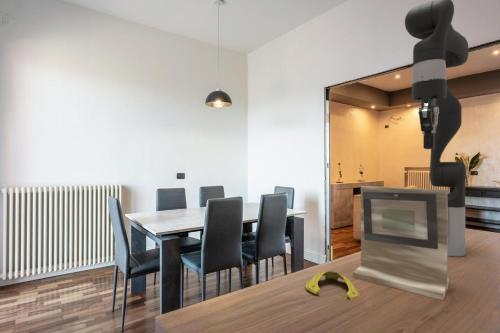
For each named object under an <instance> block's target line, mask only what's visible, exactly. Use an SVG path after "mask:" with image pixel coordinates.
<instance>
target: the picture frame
mask: <svg viewBox="0 0 500 333" xmlns="http://www.w3.org/2000/svg"><path fill="white" fill-rule="evenodd" d="M363 210H364V237H365V240H371V241H378V242H386V243H393V244H401V245H408V246H416V247H423V248H431V249H438V229H437V203H436V193H401V192H363Z"/></svg>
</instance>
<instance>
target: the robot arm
mask: <svg viewBox="0 0 500 333" xmlns="http://www.w3.org/2000/svg"><path fill="white" fill-rule="evenodd" d="M454 15H455V5H454V2H453V1H452V0H431V1H428V2H426V3H422V4H419V5H417V6H414V7H412V8H411V9H410V10H409V11H408V12H407V13H406V15H405V17H404V26H405V27H404V28H405V29H406V31H407V33H408V34H409V35H410V36H411V37H413V38H416V39H418V40H420V41H417V42H416V43H415V44H414V45H413V50H412V54H413V55H412V71H411V72H412V74H411V100H412V102H414V103H420V104H421V106H420V107H418V116H419V124H420V131H421V133H422V135H423V136H422V137H423V142H422V143H423V149H424V150H430V157H429V158H430V160H429V161H430V163H429V181H430V185H431V186H433V187H437V188H453V190H452V191H451V192H449V193H448V257H457V258H458V257H465V256H466V184H467V183H466V181H467V167H466V164H465V163H464V162H463V161H441V158H442V156H443V152H444V151H445V149H446V148H447V146H448V144H449V143H450V142H451V140H453V138H454V137H455V136H456V134H457V133H458V131H459V129H460V128H461V127H462V122H463V121H462V113H463V112H462V108H463V107H462V105H461V103H460V101H459V99H458V98H457V97H456V95H454V93H453V92H452V91H451V90H450V88H448V86H447V73H448V72H447V69H448V68H449V69H450V68H455V67H459V66H463V65H464V64H465V63H466V62H467V61H468V58H469V52H470V51H469V43H468V40H467V38H466V37H465V36H463V35H462V34H461V33H460V32H459V31H457V30H455V29H454V27H453V25H452V22H453V19H454Z"/></svg>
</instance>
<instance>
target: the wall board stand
mask: <svg viewBox="0 0 500 333" xmlns="http://www.w3.org/2000/svg"><path fill="white" fill-rule="evenodd" d="M363 192H401V193H436V203H437V229H438V249H431V248H423V247H416V246H408V245H401V244H393V243H386V242H378V241H371V240H365V237H364V210H363ZM448 194H449V193H448V189H437V188H436V189H435V188H434V189H433V188H417V187H415V188H413V187H412V188H411V187H393V186H391V187H390V186H388V187H387V186H369V185H368V186H367V185H361V186H360V265H359V267H357V268H356V269H355V270H354V271H352V278H354V279H357V280H358V279H359V280H362V281H365V282H366V281H367V282H370V283H374V284H378V285H381V286H385V287H389V288H393V289H397V290H400V291H401V290H402V291H405V292H409V293H414V294H418V295H422V296H425V297H429V298H432V299H436V300H440V301H444V300H445V297H446V294H447V291H448V288H449V285H450V278H448V276H449V275H448V274H449V272H448V270H449V269H448V267H449V266H448V264H449V263H448V257H449V256H448Z"/></svg>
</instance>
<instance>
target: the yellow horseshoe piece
mask: <svg viewBox="0 0 500 333" xmlns="http://www.w3.org/2000/svg"><path fill="white" fill-rule="evenodd" d="M323 276H324V277H325V279H327V280H328V279H329V280H331V279H332V280H338V279H340V280H343V281H344V282H345V283H346V285H347V287H348V291H347V292H346V295H347V297H345V298H344V300H347V299H348V298H349V300H350V301H352V300H353V299H357V298H360V292H359V290H358V289H357V287H356V286H355V285H354V284H353V283H352V281H350V279H349V278H347V277H346V276H345V275H342V274H341V273H339V272H337V271H334V270H327V271H326V270H325V271H321V272H318V273H317V274H315V275H314V276H312V278H310V279H309V280H308V281H307V283H305V289H306V290H307V291H309V292H310V293H313V294H315V295H317V294H318V296H319V297H321V295H320V293H319V291H320V290H321V289H320V286H319V284H318V283H319V281H320V280H321V278H322V277H323Z"/></svg>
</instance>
